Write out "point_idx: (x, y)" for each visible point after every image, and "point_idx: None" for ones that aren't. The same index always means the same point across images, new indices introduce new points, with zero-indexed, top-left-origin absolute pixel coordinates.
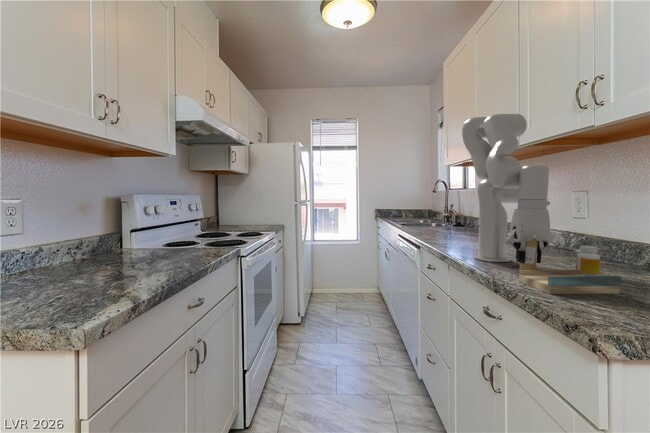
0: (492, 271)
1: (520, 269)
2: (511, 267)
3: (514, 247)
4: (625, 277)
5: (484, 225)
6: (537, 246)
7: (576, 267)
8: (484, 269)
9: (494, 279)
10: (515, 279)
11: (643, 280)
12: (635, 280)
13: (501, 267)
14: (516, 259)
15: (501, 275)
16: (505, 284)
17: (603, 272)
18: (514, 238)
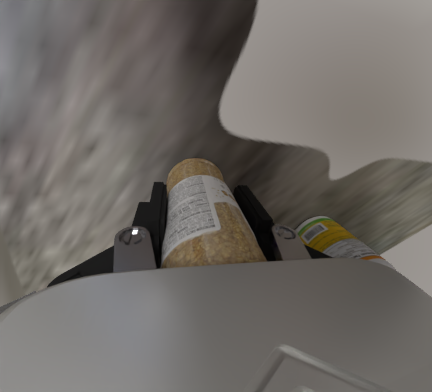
0: (49, 127)
1: (168, 182)
2: (210, 54)
3: (116, 234)
4: (399, 224)
5: None
6: (275, 258)
7: (314, 247)
8: (12, 72)
9: (9, 244)
10: (97, 243)
11: (396, 244)
12: (384, 244)
13: (152, 41)
14: (153, 186)
15: (67, 197)
16: (32, 287)
17: (422, 181)
18: (101, 283)
